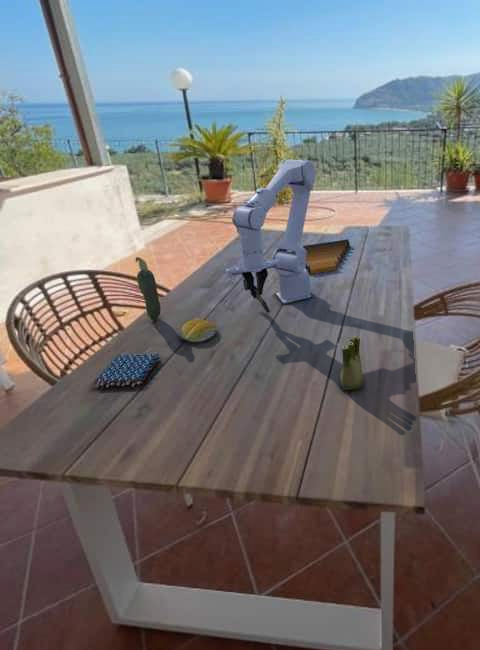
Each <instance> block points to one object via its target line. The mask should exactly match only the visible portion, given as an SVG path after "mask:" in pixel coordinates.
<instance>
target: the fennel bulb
mask: <svg viewBox="0 0 480 650" xmlns="http://www.w3.org/2000/svg"><path fill="white" fill-rule="evenodd" d="M360 345H361V337H360V335H355V336H353V337H350V338H349V341H348V346H346V345H342V346H341V352H342V368H341V370H340V371H341V372H340V377H339V378H340V384H341V387H342V388H343V390H344V391H354V390H355V391H356V390H358V389H360V388H361V387H362V386H363V384H364V375H363V367H362V360H361V355H360Z"/></svg>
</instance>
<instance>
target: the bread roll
mask: <svg viewBox="0 0 480 650" xmlns="http://www.w3.org/2000/svg"><path fill="white" fill-rule="evenodd" d="M216 331H217V326H216V324H215V323H213V322H211V321H207V320H206V319H203V318H193V319H190V320H187V322H186V323H184V324H183V326H182V328H181V330H180V335H181V337H182V339H183V340H184V341H187V342H189V343H201V342H202V343H203V342H204V341H207V340H209V339H211V338H212V337H213V336H214V335H215V334H216Z"/></svg>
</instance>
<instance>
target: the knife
mask: <svg viewBox="0 0 480 650" xmlns="http://www.w3.org/2000/svg"><path fill="white" fill-rule="evenodd" d="M242 282H243V283H242V284H243V287H244V291H250V289H249V286H248V284H247V282H246V280H245V279H244V278H243V280H242ZM254 289H255V297H253V299H256V300H257V301H258V302H259V303H260V305H261V306H262V308H263V309H264V310H265V312H266V313H268V314H270V313H271V310H270V308H269V307H268V305H267V302H266V300H264V298H263V297H262V295H260V294H259V293H258V290H257V285H254Z"/></svg>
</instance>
